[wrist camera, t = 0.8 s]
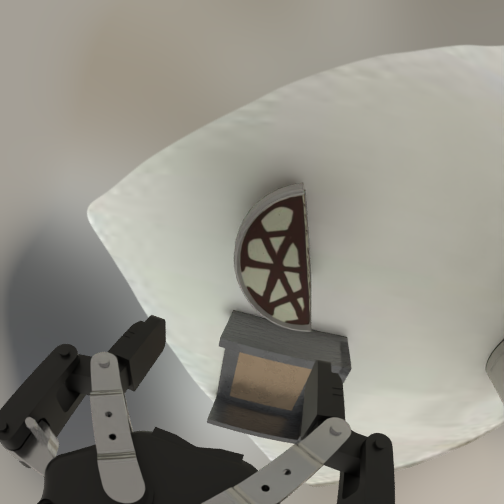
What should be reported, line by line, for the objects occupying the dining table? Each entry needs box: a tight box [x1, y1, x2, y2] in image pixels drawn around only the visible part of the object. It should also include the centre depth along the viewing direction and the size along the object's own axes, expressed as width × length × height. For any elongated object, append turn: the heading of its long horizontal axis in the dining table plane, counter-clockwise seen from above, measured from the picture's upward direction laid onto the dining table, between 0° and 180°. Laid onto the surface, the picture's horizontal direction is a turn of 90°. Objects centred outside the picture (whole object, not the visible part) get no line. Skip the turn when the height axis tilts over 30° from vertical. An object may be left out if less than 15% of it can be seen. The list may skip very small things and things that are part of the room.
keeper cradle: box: [207, 310, 351, 444], centre depth 34 cm, size 15×18×6 cm
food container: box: [234, 183, 311, 332], centre depth 26 cm, size 12×6×10 cm, turn 7°
